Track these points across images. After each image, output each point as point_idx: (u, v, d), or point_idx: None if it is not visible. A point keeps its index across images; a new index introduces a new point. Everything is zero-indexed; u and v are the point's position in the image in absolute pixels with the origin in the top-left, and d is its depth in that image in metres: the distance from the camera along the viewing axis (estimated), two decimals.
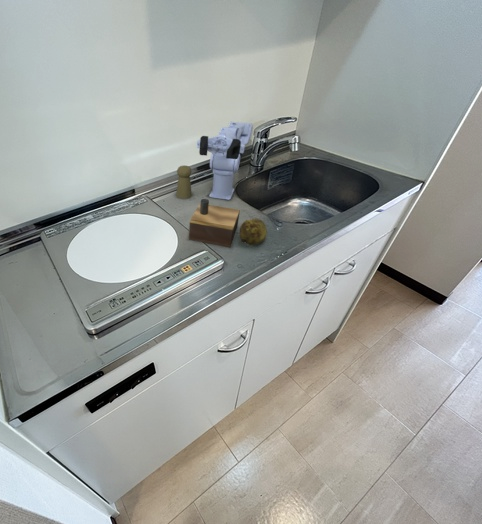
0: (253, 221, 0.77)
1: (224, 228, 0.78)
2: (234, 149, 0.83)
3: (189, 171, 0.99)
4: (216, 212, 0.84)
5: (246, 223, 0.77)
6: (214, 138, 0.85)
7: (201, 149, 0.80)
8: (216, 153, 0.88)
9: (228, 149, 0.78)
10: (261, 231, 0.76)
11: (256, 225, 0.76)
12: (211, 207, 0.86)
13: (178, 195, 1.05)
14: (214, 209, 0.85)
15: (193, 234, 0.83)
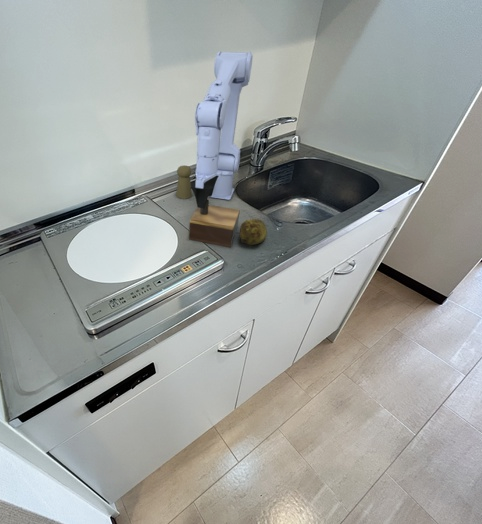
0: (253, 221, 0.77)
1: (224, 228, 0.78)
2: None
3: (189, 171, 0.99)
4: (216, 212, 0.84)
5: (246, 223, 0.77)
6: None
7: None
8: None
9: (212, 193, 0.83)
10: (261, 231, 0.76)
11: (256, 225, 0.76)
12: (211, 207, 0.86)
13: (178, 195, 1.05)
14: (214, 209, 0.85)
15: (193, 234, 0.83)
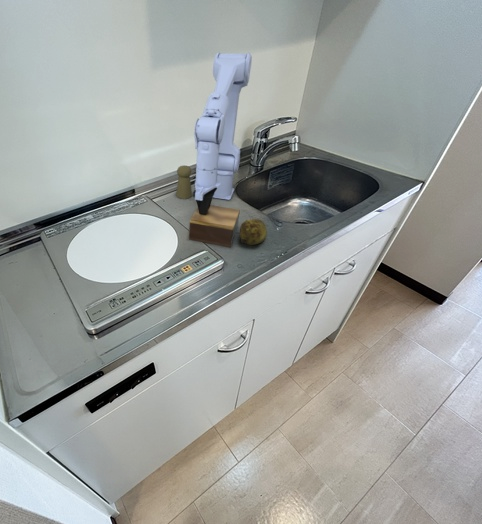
0: (253, 221, 0.77)
1: (224, 228, 0.78)
2: None
3: (189, 171, 0.99)
4: (216, 212, 0.84)
5: (246, 223, 0.77)
6: None
7: None
8: None
9: (209, 207, 0.83)
10: (261, 231, 0.76)
11: (256, 225, 0.76)
12: (211, 207, 0.86)
13: (178, 195, 1.05)
14: (214, 209, 0.85)
15: (193, 234, 0.83)
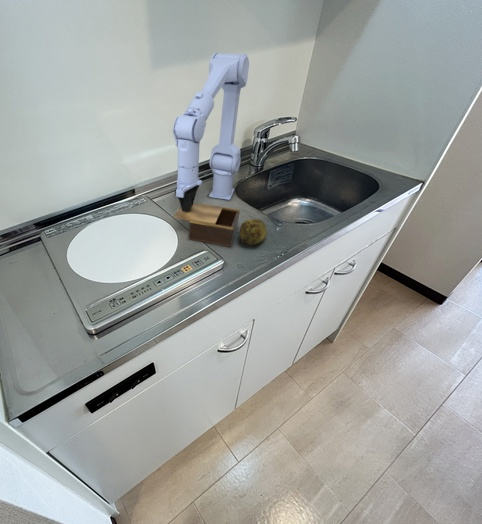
0: (253, 221, 0.77)
1: (224, 228, 0.78)
2: None
3: None
4: (199, 209, 0.85)
5: (246, 223, 0.77)
6: None
7: None
8: None
9: (192, 204, 0.85)
10: (261, 231, 0.76)
11: (256, 225, 0.76)
12: (195, 204, 0.87)
13: None
14: (198, 206, 0.87)
15: (193, 234, 0.83)
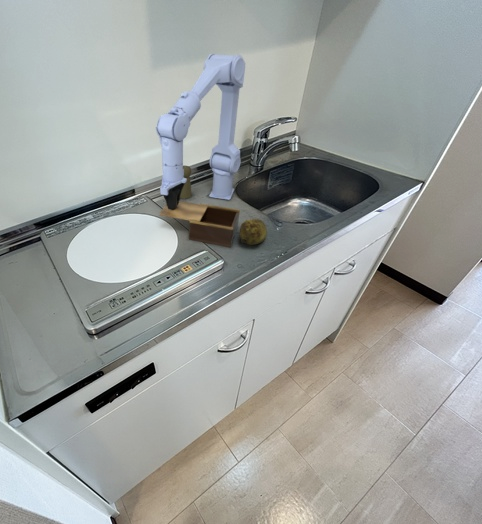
0: (253, 221, 0.77)
1: (224, 228, 0.78)
2: None
3: (189, 171, 0.99)
4: (185, 207, 0.86)
5: (246, 223, 0.77)
6: None
7: None
8: None
9: (178, 202, 0.86)
10: (261, 231, 0.76)
11: (256, 225, 0.76)
12: (181, 202, 0.89)
13: None
14: (184, 204, 0.88)
15: (193, 234, 0.83)
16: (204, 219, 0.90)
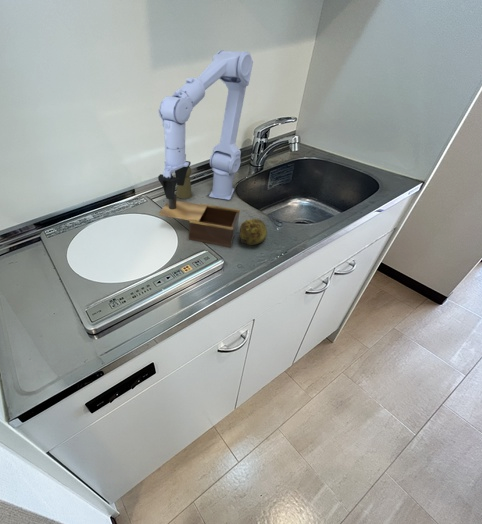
0: (253, 221, 0.77)
1: (224, 228, 0.78)
2: None
3: (189, 171, 0.99)
4: (184, 207, 0.86)
5: (246, 223, 0.77)
6: None
7: None
8: None
9: None
10: (261, 231, 0.76)
11: (256, 225, 0.76)
12: (180, 202, 0.89)
13: (178, 195, 1.05)
14: (183, 204, 0.88)
15: (193, 234, 0.83)
16: (204, 219, 0.90)
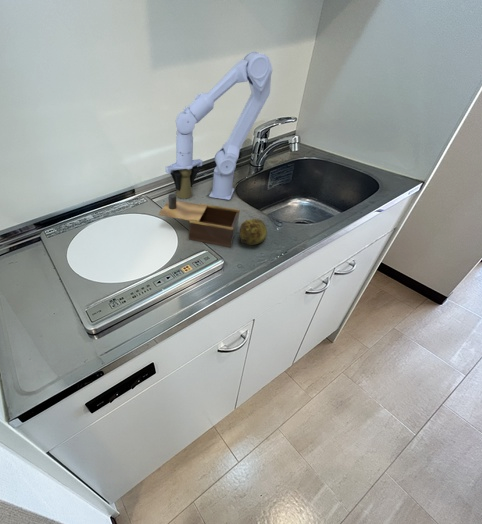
0: (253, 221, 0.77)
1: (224, 228, 0.78)
2: None
3: (189, 171, 0.99)
4: (184, 207, 0.86)
5: (246, 223, 0.77)
6: None
7: None
8: None
9: (191, 185, 1.05)
10: (261, 231, 0.76)
11: (256, 225, 0.76)
12: (180, 202, 0.89)
13: (178, 195, 1.05)
14: (183, 204, 0.88)
15: (193, 234, 0.83)
16: (204, 219, 0.90)
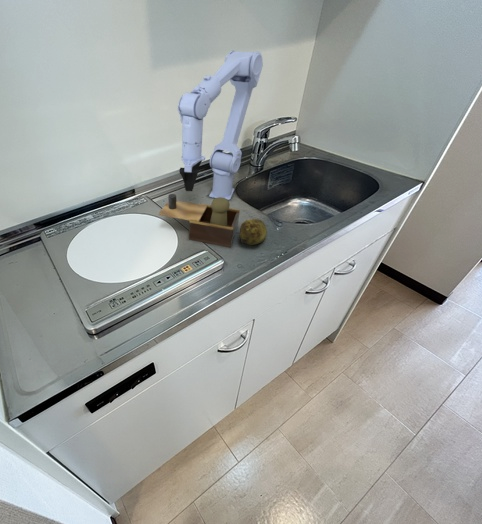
0: (253, 221, 0.77)
1: (224, 228, 0.78)
2: None
3: None
4: (184, 207, 0.86)
5: (246, 223, 0.77)
6: None
7: None
8: None
9: None
10: (261, 231, 0.76)
11: (256, 225, 0.76)
12: (180, 202, 0.89)
13: None
14: (183, 204, 0.88)
15: (193, 234, 0.83)
16: (204, 219, 0.90)
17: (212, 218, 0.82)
